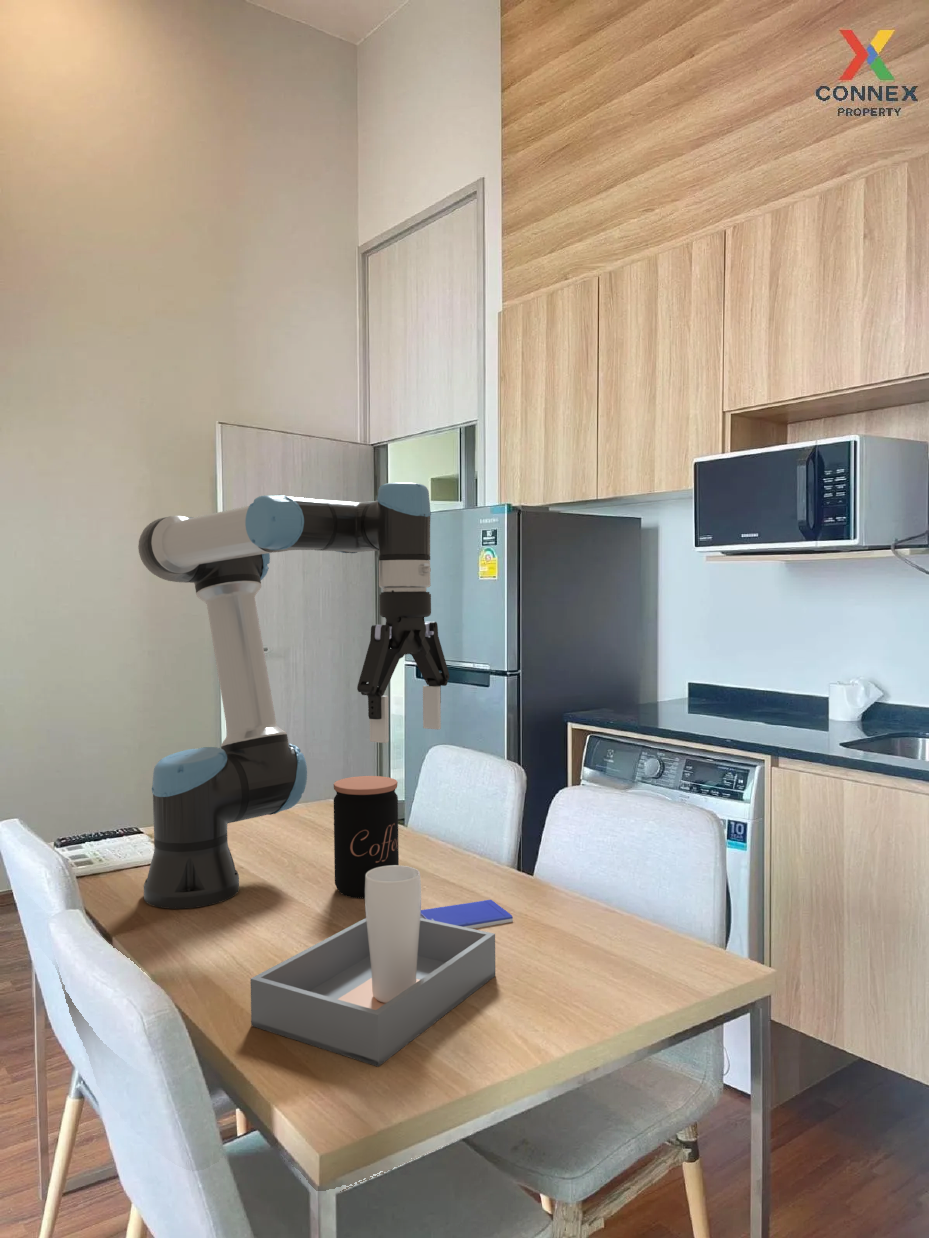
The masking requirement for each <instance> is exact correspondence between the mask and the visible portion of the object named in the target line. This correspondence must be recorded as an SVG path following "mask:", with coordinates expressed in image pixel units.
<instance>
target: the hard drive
mask: <svg viewBox="0 0 929 1238" xmlns="http://www.w3.org/2000/svg"><path fill="white" fill-rule="evenodd" d="M420 918H424V919H428V920H433V921H438V922H443V923H447V924H452V925H457V926H461V927H466V928H471V929H479V928H485V927H489V926H495V925H502V924H506V923H508V924H509V923H512V922H513V920H514V918H513V915H512V914H511V913H510V912H508V911H507V910H506V909H504V908H503V907H502V906H500V905H499V904H498V903H496V902H495V901H494V900H492V899H484V900H479V901H474V902H473V901H472V902H466V903H460V904H453V905H452V904H451V905H447V906H446V905H445V906H441V907H440V906H439V907H433V908H426V909H421V916H420Z"/></svg>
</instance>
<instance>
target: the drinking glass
mask: <svg viewBox="0 0 929 1238" xmlns="http://www.w3.org/2000/svg"><path fill="white" fill-rule="evenodd" d="M364 909H365V918H366V922H367V932H368V942H369V952H370V962H371V973H372V993H373V996H374V998H375V999H376V1000H378V1001H380V1002H383V1003H387V1002H389V1001H390V1000H392V999H393V998H395V997H396V996H397V995H399V994H400V993H402V992H403V991H405V990H406V989H408V988H409V987H411V986H412V985H414V984H415V983H416V973H417V957H418V943H419V930H420V916H421V910H422V882H421V872H420V870H419V869H417V868H415V867H413V866H408V865H400V864H399V865H391V866H382V867H377V868H374V869H371V870H370V871H368V872H367V873H366V875H365V898H364Z"/></svg>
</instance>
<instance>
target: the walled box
mask: <svg viewBox="0 0 929 1238" xmlns="http://www.w3.org/2000/svg"><path fill="white" fill-rule="evenodd" d="M495 977H496V933H494V932H489V931H486V930H480V929H479V930H478V929H477V928H473V929H471V928H466V927H461V926H457V925H452V924H447V923H443V922H438V921H433V920H428V919H424V918H420V930H419V943H418V957H417V973H416V983H415V984H414V985H412V986H411V987H409V988H408V989H406V990H405V991H403V992H402V993H400V994H399V995H397V996H396V997H395V998H393V999H392V1000H390V1001H389V1002H387V1003H383V1002H380V1001H378V1000H376V999H375V998H374V996H373V993H372V973H371V962H370V952H369V942H368V932H367V922H366V917H365V918H363V919H362V920H361V919H360V920H359V921H357V922H356V923H354V924H352V925H350V926H348V927H346V928H344V929H342V930H341V931H339V932H336V933H334V934H333V935H331V936H329V937H327V938H324V939H323V940H322V941H319V942H318V943H315V944H314V945H312V946H310V947H307V948H306V949H304V950H302V951H300V952H298V953H296V954H295V955H293V956H290V957H289V958H287V959H285V960H283V961H281V962H280V963H278V964H276V965H273V966H272V967H270V968H267V969H266V970H264V971H262V972H261V973H258V974H257V975H255V976H253V977H251V978H250V1022H251V1023H250V1024H251V1027H254V1028H257V1029H260V1030H263V1031H266V1032H269V1033H272V1034H275V1035H279V1036H282V1037H285V1038H288V1039H291V1040H295V1041H296V1042H300V1043H304V1044H307V1045H310V1046H313V1047H315V1048H319V1049H322V1050H325V1051H328V1052H331V1053H335V1054H338V1055H340V1056H345V1057H348V1058H349V1059H354V1060H356V1061H360V1062H363V1063H366V1064H368V1065H372V1066H375V1067H378V1068H379V1067H380V1066H381V1065H382V1064H384V1063H385V1062H386V1061H388V1060H389V1059H390V1058H391V1057H393V1056H394V1055H396V1054H397V1053H398V1052H399V1051H400V1050H402V1049H403V1048H404V1047H406V1046H407V1045H408V1044H409V1043H410V1042H412V1041H413V1040H415V1039H416V1038H417V1037H419V1036H420V1035H421V1034H422V1033H424V1032H425V1031H426V1030H427V1029H428V1028H430V1027H431V1026H433V1025H434V1024H436V1022H438V1021H439V1020H441V1019H442V1018H443V1017H444V1016H446V1015H447V1014H448V1013H449V1012H451V1011H452V1010H453V1009H455V1008H456V1007H457V1006H458V1005H460V1004H461V1003H462V1002H463V1001H465V1000H466V999H467V998H469V997H470V996H471V995H472V994H474V993H475V992H477V991H478V990H479V989H480V988H482V987H483V986H484V985H485V984H486V983H487V984H488V982H489V981H490V980H492V979H494V978H495Z"/></svg>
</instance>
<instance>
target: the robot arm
mask: <svg viewBox="0 0 929 1238" xmlns="http://www.w3.org/2000/svg"><path fill="white" fill-rule="evenodd" d="M377 493H378V494H377V498H376V500H373V501H356V502H355V501H346V500H332V499H319V498H317V499H315V498H308V497H307V498H306V497H305V498H304V497H297V496H296V497H294V496H288V495H285V494H274V495H273V494H272V495H259V496H258V497H255V498H254V500H253V502H252V503H250V504H249V505H246V506H241V507H237V508H232V509H228V510H223V511H219V512H213V513H210V514H204V515H199V516H195V517H194V516H193V517H192V516H190V517H189V516H182V515H170V516H166V517H161V518H157V519H154V520H152V521H151V522H150V523H149V524H147V525H146V527H144V529H142V530H143V531H142V532H141V533H140V537H139V539H138V544H137V545H138V547H137V548H138V554H139V557H140V560H141V562H142V564H143V565H144V566H145V568H146V570H148V571H149V572H150V573H151V574H153V575H154V576H156V577H158V578H160V579H162V580H164V581H168V582H173V583H193V584H194V588H195V594H196V597H197V598H198V599H199V600H200V601H202V602H204V603H205V604H206V609H207V613H208V614H207V615H208V621H209V627H210V631H211V638H212V645H213V651H214V657H215V664H216V670H217V674H218V675H217V677H218V683H219V687H220V694H221V700H222V707H223V708H222V709H223V714H224V719H225V725H226V729H227V730H226V731H227V733H226V734H227V735H226V737H225V738H224V740H223V741H222V743H221V744H220V747H216V746H205V747H198V748H190V749H185V750H184V749H183V750H181V751H177V752H174V753H170V754H169V755H166V756H164V757H162V758H161V759H160V760H159V761H158V762H156V764H155V766H154V767H153V771H152V772H153V773H152V786H151V794H152V808H153V809H152V810H153V813H152V814H153V843H154V844H153V846H154V847H153V854H152V858H151V861H150V864H149V865H150V866H149V869H148V873H147V878H146V879H145V882H144V884H143V900H144V902H145V903H146V904H148V905H150V906H153V907H157V908H161V909H177V910H178V909H192V908H193V909H195V908H199V907H201V908H202V907H207V906H211V905H214V904H218V903H221V902H224V901H227V900H229V899H231V898H233V897H234V896H236V895H237V894H238V893H239V890H240V876H239V873H238V870H236V866H235V863H234V862H235V861H234V859H233V856H232V852H231V850H230V847H229V844H228V824H231V823H237V822H241V821H245V820H249V819H254V818H259V817H263V816H269V815H270V816H271V815H276V814H278V813H279V812H282V811H286V810H290V809H291V808H294V807H295V806H296V805H297V804H298V803H299V802H300V800H301V798H302V796H303V794H304V793H305V790H306V786H307V782H308V781H307V780H308V766H307V765H308V764H307V761H306V758H305V756H304V753H303V752H301V749H300V748H299V746H297V745H295V744H292V743H289V737H288V734H287V731H285V730H283V729H282V728H281V727H279V726H278V724H277V720H276V714H275V709H274V703H273V701H274V700H273V696H272V690H271V684H270V678H269V673H268V668H267V667H268V666H267V662H266V661H267V660H266V656H265V650H264V643H263V636H262V633H261V625H260V621H259V614H258V608H257V601H256V596H257V594H258V592H259V591H260V590H261V589H262V582H261V581H262V580H264V578H265V577H266V576H267V574H268V571H269V566H268V565H269V564H270V562H271V556H270V555H271V553H272V554H273V553H282V552H288V551H323V552H335V553H336V552H337V553H342V554H356V553H361V552H373V551H374V552H375V551H378V553H379V554H378V587H379V588H380V589H382V591H381V592H380V594H379V598H378V599H379V615H380V617H381V618H385V624H372V625H371V627H370V639H369V644H368V648H367V650H366V654H365V659H364V662H363V666H362V669H361V673H360V676H359V679H358V683H357V687H356V688H357V689H356V690H357V692H358V693H360V694H361V695H362V696H366V697H367V700H368V701H367V708H368V713H367V714H368V715H367V716H368V719H369V743H370V742H371V743H378V744H379V743H381V744H387V743H389V734H390V733H389V696H388V695H385V693H386V690H387V688H388V686H389V683H390V681H391V679H392V677H393V675H394V672H395V670H396V668H397V665H398V664H399V662H400V660H401V659H402V658H404V656H405V655H411V656H412V659H413V660H414V663H416V666H417V668H418V670H419V671H420V674H421V676H422V678H423V679H424V682H425V684H426V685H422V720H423V721H422V722H423V723H422V725H423V726H422V728H423V729H427V730H441V728H442V723H441V722H442V720H441V719H442V717H441V716H442V715H441V713H442V711H441V703H442V701H441V700H442V690H441V689H442V687H446V686H447V685H448V684H449V683H448V681H449V680H450V672H449V668H448V665H447V662H446V658H445V655H444V650H443V648H442V644H441V641H440V638H439V629H438V623H437V621H426V620H425V618H427V617H430V616H431V614H432V594H431V593H430V591H427V588H430V587H431V586H432V585H431V517H432V511H431V503H430V491H429V489H428V487H427V486H426V485H424V484H421V483H418V482H417V483H416V482H388V483H384V484H382V485H380V486H379V488H378V490H377Z"/></svg>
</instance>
